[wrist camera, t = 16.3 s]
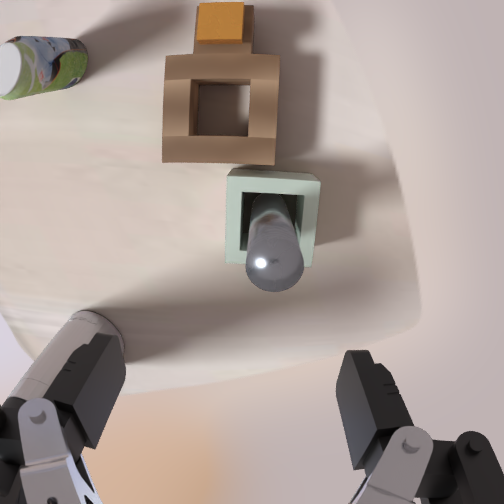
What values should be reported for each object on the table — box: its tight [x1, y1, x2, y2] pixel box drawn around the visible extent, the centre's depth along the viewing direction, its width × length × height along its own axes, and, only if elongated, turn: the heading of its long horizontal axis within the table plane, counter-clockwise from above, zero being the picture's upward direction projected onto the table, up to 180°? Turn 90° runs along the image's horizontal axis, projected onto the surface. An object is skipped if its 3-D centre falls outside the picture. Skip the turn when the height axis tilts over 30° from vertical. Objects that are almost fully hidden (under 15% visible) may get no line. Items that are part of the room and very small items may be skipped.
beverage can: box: [0, 36, 88, 100], centre depth 21 cm, size 6×7×12 cm
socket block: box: [162, 5, 280, 165], centre depth 26 cm, size 15×10×4 cm, turn 178°
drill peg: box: [246, 193, 304, 292], centre depth 26 cm, size 4×4×14 cm
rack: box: [225, 169, 321, 267], centre depth 30 cm, size 8×8×5 cm
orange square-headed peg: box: [197, 2, 245, 45], centre depth 23 cm, size 4×4×6 cm
